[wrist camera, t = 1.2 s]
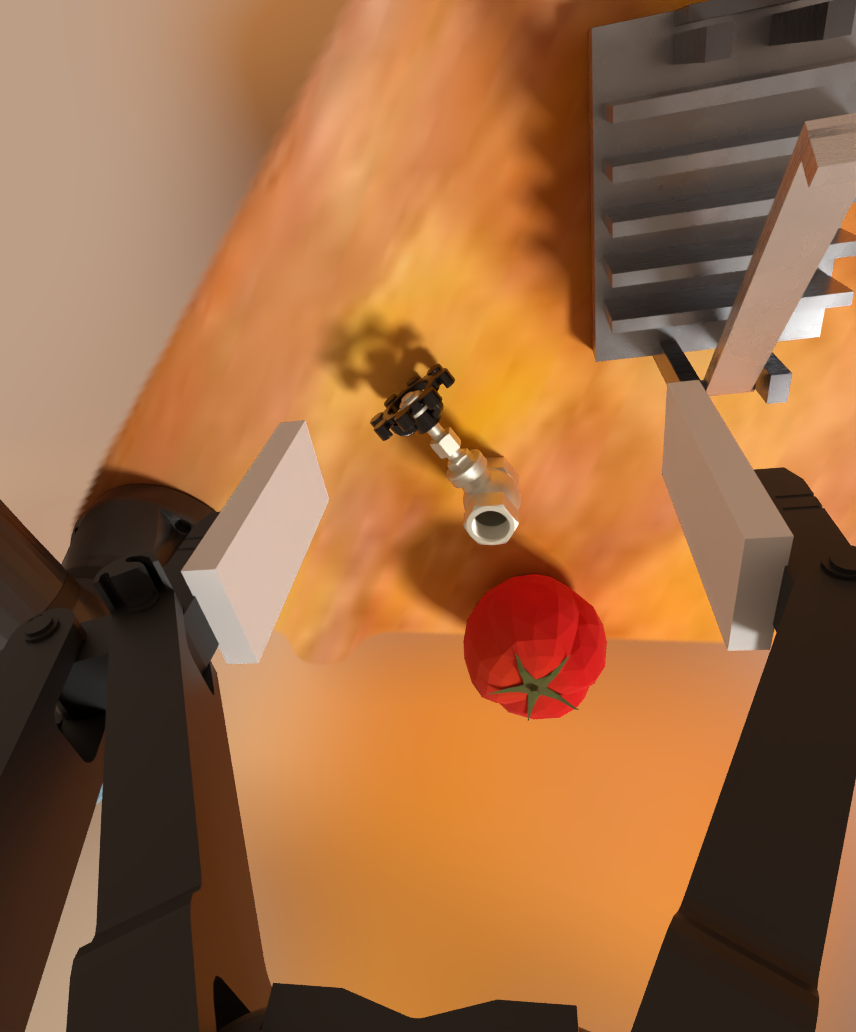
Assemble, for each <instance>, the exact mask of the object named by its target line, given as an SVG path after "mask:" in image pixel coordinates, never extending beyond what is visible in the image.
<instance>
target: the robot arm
mask: <svg viewBox="0 0 856 1032" xmlns="http://www.w3.org/2000/svg"><path fill="white" fill-rule="evenodd" d="M662 476H663V478H664V481H665V484H666V486H667V489H668V492H669V494H670V497H671V500H672V502H673V505H674V508H675V510H676V513H677V516H678V518H679V521H680V524H681V527H682V529H683V532H684V535H685V537H686V540H687V543H688V545H689V548H690V551H691V553H692V556H693V559H694V561H695V564H696V567H697V569H698V572H699V575H700V578H701V580H702V583H703V586H704V588H705V591H706V594H707V596H708V599H709V602H710V604H711V607H712V610H713V612H714V615H715V618H716V621H717V623H718V626H719V629H720V631H721V634H722V637H723V639H724V642H725V645H726V647H727V650H728V651H733V650H770V647H771V642H772V637H773V633H774V628H775V630H776V632H777V633H776V636H775V639H774V642H773V645H772V648H771V651H770V653H769V656H768V659H767V662H766V665H765V668H764V671H763V673H762V676H761V679H760V682H759V685H758V688H757V690H756V693H755V696H754V699H753V702H752V705H751V708H750V710H749V713H748V716H747V719H746V722H745V725H744V727H743V730H742V733H741V736H740V739H739V742H738V745H737V747H736V750H735V753H734V756H733V759H732V762H731V765H730V767H729V771H728V773H727V776H726V779H725V782H724V785H723V787H722V790H721V793H720V796H719V799H718V802H717V804H716V807H715V810H714V813H713V816H712V819H711V822H710V825H709V827H708V831H707V833H706V836H705V839H704V842H703V844H702V847H701V850H700V853H699V856H698V859H697V862H696V864H695V867H694V870H693V873H692V876H691V879H690V881H689V885H688V887H687V890H686V893H685V896H684V898H683V901H682V904H681V906H680V908H679V910H678V912H677V913H676V914H675V915H674V916H673V919H672V921H671V923H670V925H669V928H668V930H667V933H666V935H665V938H664V941H663V943H662V946H661V949H660V952H659V954H658V957H657V960H656V963H655V966H654V969H653V971H652V974H651V977H650V980H649V982H648V985H647V988H646V991H645V994H644V996H643V999H642V1002H641V1005H640V1008H639V1010H638V1013H637V1016H636V1019H635V1022H634V1024H633V1027H632V1030H631V1032H815V1029H816V1022H817V1016H818V1006H819V995H818V990H817V986H818V977H819V971H820V966H821V960H822V955H823V950H824V944H825V938H826V934H827V928H828V923H829V917H830V912H831V907H832V902H833V897H834V891H835V886H836V880H837V875H838V870H839V865H840V859H841V854H842V849H843V843H844V838H845V832H846V827H847V822H848V817H849V812H850V806H851V801H852V796H853V790H854V785H855V779H856V547H855V546H851V545H850V544H849V542H848V541H847V539H846V538H845V537H844V535H843V534H842V532H841V531H840V530H839V528H838V527H837V526H836V524H835V523H834V521H833V520H832V519H831V517H830V516H829V514H828V513H827V512H826V510H825V509H824V508H822V505H821V503H820V502H819V500H818V499H817V498H816V496H815V497H814V493H813V492H812V491H811V489H810V488H809V486H808V485H807V484H806V482H805V481H804V480H803V479H802V478H800V477H799V476H797V475H795V474H794V473H792V472H791V471H789V470H787V469H786V468H784V467H783V468H770V469H756V470H753V468H752V467H751V465H750V463H749V462H748V460H747V458H746V457H745V455H744V454H743V452H742V450H741V449H740V447H739V445H738V444H737V442H736V440H735V439H734V437H733V435H732V434H731V432H730V431H729V429H728V427H727V426H726V424H725V422H724V421H723V419H722V417H721V416H720V414H719V412H718V411H717V409H716V407H715V406H714V404H713V403H712V401H711V399H710V398H709V396H708V394H707V393H706V391H705V389H704V388H703V386H702V384H701V383H700V381H699V380H694V381H684V382H674V383H667V397H666V414H665V431H664V449H663V466H662ZM328 502H329V497H328V494H327V491H326V487H325V484H324V481H323V477H322V474H321V471H320V467H319V464H318V461H317V457H316V454H315V451H314V447H313V444H312V441H311V438H310V434H309V431H308V428H307V424H306V421H305V420H302V421H293V422H283V423H280V424H279V425H278V427H277V428H276V430H275V431H274V433H273V434H272V436H271V437H270V439H269V440H268V442H267V443H266V445H265V446H264V448H263V449H262V451H261V452H260V454H259V455H258V457H257V458H256V460H255V461H254V463H253V464H252V466H251V467H250V469H249V470H248V472H247V473H246V475H245V476H244V478H243V479H242V481H241V482H240V484H239V485H238V487H237V488H236V490H235V491H234V493H233V494H232V496H231V497H230V499H229V500H228V502H227V503H226V505H225V506H224V508H223V509H222V511H221V512H215V511H213V510H212V509H211V508H209V507H208V506H206V505H205V504H203V503H201V502H200V501H198V500H196V499H194V498H192V497H190V496H188V495H186V494H184V493H181V492H179V491H176V490H173V489H169V488H165V487H161V486H155V485H146V484H134V485H126V486H121V487H117V488H114V489H112V490H110V491H108V492H106V493H104V494H103V495H101V496H100V497H99V498H98V499H97V500H96V501H95V502H94V503H93V504H92V505H91V506H90V507H89V508H88V509H87V510H86V511H85V512H84V513H83V514H82V515H81V517H80V518H79V520H78V521H77V523H76V525H75V527H74V530H73V533H72V536H71V543H70V547H69V549H68V551H67V554H66V556H65V558H64V560H63V562H62V564H60V563H59V562H58V561H57V560H56V559H55V558H54V557H53V555H51V554H50V552H49V551H48V550H47V549H46V548H45V547H44V546H43V545H42V544H41V543H40V542H39V541H38V540H37V539H36V538H35V537H34V535H33V534H32V533H30V531H29V530H28V529H27V528H26V527H25V526H24V525H23V524H22V523H21V522H20V521H19V519H17V517H16V516H15V515H14V514H13V513H12V512H11V511H10V510H9V508H8V507H7V506H6V505H5V504H4V503H3V502H2V501H1V500H0V1032H25V1029H26V1025H27V1022H28V1019H29V1016H30V1012H31V1010H32V1006H33V1003H34V1000H35V997H36V994H37V991H38V987H39V984H40V981H41V978H42V974H43V971H44V968H45V965H46V962H47V959H48V956H49V952H50V949H51V946H52V943H53V939H54V936H55V933H56V930H57V927H58V924H59V921H60V917H61V914H62V911H63V908H64V904H65V901H66V898H67V895H68V892H69V889H70V885H71V882H72V879H73V876H74V873H75V869H76V866H77V863H78V860H79V857H80V854H81V851H82V847H83V844H84V841H85V838H86V835H87V831H88V828H89V825H90V822H91V819H92V816H93V812H94V809H95V806H96V804H98V803H99V802H100V801H101V800H102V813H101V835H100V858H99V880H98V903H97V925H96V932H95V936H94V938H93V940H92V942H91V943H89V944H87V945H85V946H83V947H81V948H79V950H78V952H77V954H76V956H75V958H74V960H73V965H72V971H71V976H70V987H69V1002H68V1014H67V1028H66V1032H578V1020H577V1007H576V1006H575V1005H562V1004H547V1003H535V1002H521V1001H508V1000H494V1001H490V1002H486V1003H482V1004H477V1005H473V1006H470V1007H465V1008H462V1009H457V1010H453V1011H449V1012H445V1013H441V1014H437V1015H433V1016H429V1017H425V1018H410V1017H407V1016H405V1015H403V1014H401V1013H398V1012H396V1011H394V1010H391V1009H389V1008H387V1007H385V1006H382V1005H380V1004H378V1003H375V1002H373V1001H371V1000H368V999H366V998H364V997H362V996H359V995H357V994H355V993H352V992H350V991H348V990H345V989H343V988H334V987H321V986H307V985H294V984H280V983H273V986H271V984H270V981H269V978H268V975H267V971H266V967H265V962H264V957H263V951H262V945H261V939H260V932H259V927H258V921H257V914H256V908H255V902H254V896H253V890H252V884H251V878H250V872H249V866H248V860H247V853H246V848H245V841H244V836H243V829H242V823H241V817H240V811H239V805H238V799H237V793H236V787H235V780H234V775H233V769H232V763H231V756H230V750H229V744H228V738H227V732H226V726H225V720H224V713H223V708H222V701H221V695H220V689H219V683H218V677H217V672H216V671H215V668H214V667H213V665H212V663H211V659H212V657H213V655H214V653H215V651H216V649H217V647H219V649H220V651H221V653H222V655H223V656H224V659H225V661H226V663H227V664H242V663H243V664H245V663H259V661H260V658H261V656H262V654H263V651H264V649H265V647H266V644H267V642H268V640H269V638H270V635H271V633H272V631H273V628H274V626H275V624H276V621H277V619H278V617H279V615H280V612H281V610H282V608H283V605H284V603H285V601H286V598H287V596H288V594H289V591H290V589H291V587H292V585H293V582H294V580H295V578H296V575H297V573H298V571H299V568H300V566H301V564H302V562H303V559H304V557H305V555H306V552H307V550H308V548H309V545H310V543H311V541H312V538H313V536H314V534H315V532H316V529H317V527H318V525H319V522H320V520H321V518H322V515H323V513H324V511H325V508H326V506H327V504H328ZM579 1032H590V1031H587V1030H585V1029H583V1028H580V1027H579Z"/></svg>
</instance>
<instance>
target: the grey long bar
mask: <svg viewBox="0 0 856 1032" xmlns="http://www.w3.org/2000/svg"><path fill="white" fill-rule="evenodd" d="M855 197H856V113H852V114H846V115H840V116H834V117H828V118H822V119H816V120H811V121H805V122H804V125H803V128H802V130H801V133H800V135H799V138H798V140H797V143H796V145H795V148H794V150H793V153H792V156H791V158H790V161H789V163H788V166H787V168H786V171H785V173H784V176H783V179H782V181H781V184H780V186H779V189H778V191H777V194H776V196H775V199H774V202H773V204H772V207H771V209H770V212H769V214H768V217H767V219H766V222H765V224H764V227H763V230H762V232H761V235H760V237H759V240H758V242H757V245H756V247H755V250H754V253H753V255H752V258H751V260H750V263H749V265H748V268H747V270H746V273H745V275H744V278H743V281H742V283H741V286H740V288H739V291H738V293H737V296H736V298H735V301H734V304H733V306H732V309H731V311H730V314H729V316H728V319H727V321H726V324H725V327H724V329H723V332H722V334H721V337H720V339H719V342H718V344H717V347H716V349H715V352H714V355H713V357H712V360H711V362H710V365H709V367H708V370H707V372H706V375H705V378H704V380H701V382H702V386H703V388H704V389H705V391H706V393H707V394H708V396H715V395H725V394H735V393H745V392H753V391H754V390H755V385H756V381H757V379H758V377H759V375H760V373H761V371H762V370H763V368H764V366H765V364H766V362H767V360H768V358H769V357H770V355H771V353H772V351H773V349H774V347H775V345H776V344H777V342H778V340H779V338H780V336H781V334H782V332H783V331H784V329H785V327H786V325H787V323H788V321H789V319H790V318H791V316H792V314H793V312H794V310H795V308H796V306H797V305H798V303H799V301H800V299H801V297H802V295H803V293H804V292H805V290H806V288H807V286H808V284H809V282H810V280H811V279H812V277H813V275H814V273H815V271H816V269H817V267H818V266H819V264H820V262H821V260H822V258H823V256H824V254H825V253H826V251H827V249H828V247H829V245H830V243H831V241H832V240H833V238H834V236H835V234H836V232H837V230H838V228H839V227H840V225H841V223H842V221H843V219H844V217H845V215H846V214H847V212H848V210H849V208H850V206H851V204H852V202H853V201H854V199H855Z"/></svg>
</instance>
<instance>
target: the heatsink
mask: <svg viewBox="0 0 856 1032" xmlns="http://www.w3.org/2000/svg"><path fill="white" fill-rule="evenodd" d="M588 71H589V136H590V202H591V267H592V332H593V353H594V356H595V360H596V362H598V361H607V360H616V359H625V358H634V357H643V356H653V358H654V360H655V362H656V364H657V366H658V368H659V370H660V372H661V374H662V376H663V378H664V380H665V382H666V384H667V383H674V382H684V381H694V380H699V381H700V383H701V384H702V382H701V380H700V379H699V377H698V376H697V374H696V372H695V371H694V369H693V367H692V366H691V364H690V362H689V361H688V359H687V357H686V356H685V354H684V353H683V352H688V351H697V350H705V349H714V348H716V347H717V344H718V342H719V339H720V337H721V334H722V332H723V329H724V327H725V324H726V321H727V319H728V316H729V314H730V311H731V309H732V306H733V304H734V301H735V298H736V296H737V293H738V291H739V288H740V286H741V283H742V281H743V278H744V275H745V273H746V270H747V268H748V265H749V263H750V260H751V258H752V255H753V253H754V250H755V247H756V245H757V242H758V240H759V237H760V235H761V232H762V230H763V227H764V224H765V222H766V219H767V217H768V214H769V212H770V209H771V207H772V204H773V202H774V199H775V196H776V194H777V191H778V189H779V186H780V184H781V181H782V179H783V176H784V173H785V171H786V168H787V166H788V163H789V161H790V158H791V156H792V153H793V150H794V148H795V145H796V143H797V140H798V138H799V135H800V133H801V130H802V128H803V125H804V122H805V121H811V120H816V119H822V118H828V117H834V116H840V115H846V114H852V113H856V0H710V1H705V2H701V3H696V4H691V5H688V6H685V7H683V8H680V9H677V10H675V11H671V12H666V13H661V14H656V15H652V16H647V17H642V18H637V19H632V20H628V21H623V22H618V23H613V24H609V25H604V26H599V27H594V28H591V29H589V30H588ZM854 202H856V197H855V199H854V201H853V202H852V203H854ZM849 256H856V235H854V234H852V233H850V232H848V231H845V230H843V229H841V225H840V227H839V228H838V230H837V232H836V234H835V236H834V238H833V240H832V241H831V243H830V245H829V247H828V249H827V251H826V253H825V254H824V256H823V258H822V260H821V262H820V264H819V266H818V267H817V269H816V271H815V273H814V275H813V277H812V279H811V280H810V282H809V284H808V286H807V288H806V290H805V292H804V293H803V295H802V297H801V299H800V301H799V303H798V305H797V306H796V308H795V310H794V312H793V314H792V316H791V318H790V319H789V321H788V323H787V325H786V327H785V329H784V331H783V332H782V334H781V336H780V338H779V340H778V341H786V340H795V339H804V338H813V337H820V332H821V327H822V322H823V316H824V311H825V308H831V307H840V306H848V305H851V303H852V299H853V294H854V291H853V290H851V289H849V288H848V287H846V286H845V285H843V284H842V283H840V282H838V281H837V280H835V279H834V278H832V277H831V275H832V270H833V265H834V260H835V258H841V257H849ZM791 377H792V373H791V372H790V371H789V370H788V369H787V368H786V367H785V365H784V364H783V363H782V362H781V361H780V360H779V359H778V358H777V357H776V356H775V355H774V354H773V353H771V355H770V357H769V358H768V360H767V362H766V364H765V366H764V368H763V370H762V371H761V373H760V375H759V377H758V379H757V381H756V385H755V389H756V390H757V392H758V393H759V394H760V396H761V397H762V398H763V399H764V401H765V402H766V403H767V404H770V403H780V402H787V400H788V394H789V388H790V382H791Z"/></svg>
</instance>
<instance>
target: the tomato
mask: <svg viewBox="0 0 856 1032" xmlns="http://www.w3.org/2000/svg"><path fill="white" fill-rule="evenodd" d="M606 644H607V641H606V636H605V632H604V627H603V624H602V622H601V620H600V618H599V616H598V615H597V613H596V611H595V609H594V607H593V606H592V605H590V604H589V603H588V602H587V601H585V600H584V599H583V598H582V597H580V596H579V595H578V594H577V593H575V592H574V591H573V590H572V589H571V588H569V587H568V586H566V585H564V584H562V583H561V582H559V581H557V580H555V579H554V578H552V577H550V576H544V575H538V574H530V575H523V576H516V577H511V578H509V579H508V580H506V581H504V582H503V583H501V584H499V585H497V586H496V587H494V588H492V589H491V590H489V591H487V592H486V593H485V595H484V596H483V597H482V598H481V599H480V601H479V602H478V603H477V605H476V607H475V608H474V610H473V612H472V613H471V615H470V617H469V618H468V620H467V625H466V630H465V636H464V659H465V661H466V665H467V668H468V672H469V675H470V678H471V681H472V683H473V685H474V686H475V688H476V689H477V690H478V692H479V693H480V695H481V696H482V697H483V698H485V699H488V700H491V701H493V702H496V703H500V704H501V705H502V706H503V707H504V708H505V709H506V710H507V711H508V712H510V713H514V714H517V715H521V716H524V717H528V720H529V718H531V719H544V718H559V717H561V716H563V715H564V714H567V713H568V712H570V711H572V710H573V709H577V708H576V707H577V706H578V705H579V704H580V703H581V702H582V700H583V699H584V698H585V696H586V693H587V691H588V688H589V686H590V685H592V684H594V683H595V681H596V680H597V678H598V677H599V675H600V673H601V672H602V670H603V669H604V667H605V657H606ZM577 710H578V709H577Z"/></svg>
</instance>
